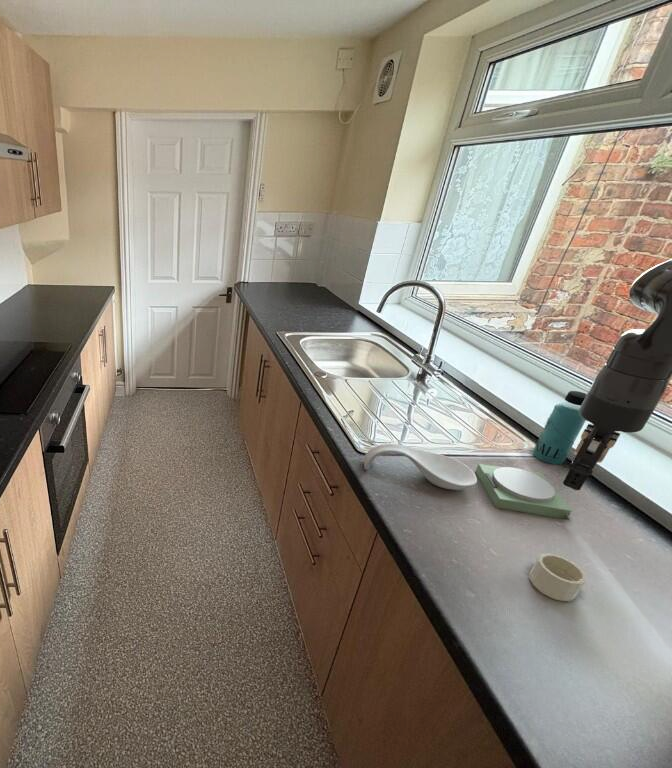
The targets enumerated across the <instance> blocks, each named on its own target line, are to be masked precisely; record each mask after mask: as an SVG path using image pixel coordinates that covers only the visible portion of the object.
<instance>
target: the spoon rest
mask: <svg viewBox="0 0 672 768" xmlns="http://www.w3.org/2000/svg"><path fill="white" fill-rule="evenodd" d="M384 454H397V455H401V456H403V457H406V458H407V459H409V460H410V461H411V462H412V463H413V464H414V465H415V467H416V468H417V469H418V471H419V472H420V473H421V475H423V477H424V478H425V479H427V481H428V482H430V483H431V484H433V485H434V486H436V487H438V488H441V489H446V490H455V491H456V490H457V491H458V490H459V491H461V490H466V489H469V488H472V487H474V486H475V485H476V484H477V482H478V478H477V474H476V473H475V472H474V471H473V470H472V469H471V468H470V467H469V466H468V465H466V464H465V463H463V462H461V461H459V460H457V459H455V458H452V457H450V456H447V455H444V454H441V453H436V452H431V451H428V450H424V449H420V448H416V447H413V446H409V445H403V444H399V443H383V444H379V445H376V446H374V447H371V448H370V449H369V450H368V451H367V452H366V453H365V455H364V457H363V468H364V470H365V471H368V470H369V469H370V468H371V465H372V463H373V461H374V460H375V459H376V458H377V457H379V456H381V455H384Z"/></svg>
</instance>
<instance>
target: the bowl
mask: <svg viewBox="0 0 672 768" xmlns="http://www.w3.org/2000/svg"><path fill="white" fill-rule="evenodd" d="M528 578H529V580H530V582H531V584H532V585H533V587H534V588H535V589H536V590H537V591H539V592H540V593H541V594H542V595H544V596H546V597H548V598H550V599H552V600H556V601H560V602H571V601H573V600H574V599H576V597H577V596H578V594H579V592H580V591H581V590H582V588H583V587H584V585H585V583H586V582H587V575H586V574H585V572H584V571H583V569H582V568H581V567H579V566H578V564H576V563H574V562H573V561H571V560H570V559H567V558H566V557H563V556H561V555H558V554H554V553H543V554H540V555H539V556H538V557H537V559H536V561H535V562H534V565H533V566H532V568H531V570H530V572H529V576H528Z"/></svg>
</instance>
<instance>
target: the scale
mask: <svg viewBox="0 0 672 768" xmlns="http://www.w3.org/2000/svg"><path fill="white" fill-rule="evenodd" d="M474 473H475V475H476V476H477V477H478V479H479V480H480V482H481V484H482V486H483V487H484V490H485V491H486V492H487V494H488V496H489V498H490V500H491V501H492V504H493V505H494V507H495V508H497V509H503V510H508V511H516V512H520V513H527V514H532V515H539V516H543V517H551V518H555V519H562V520H568V518H569V516H568V515H570V514H571V513H572V510H571V508H570V507H569V506H568V504H567V503H566V502H565V500H563V498H562V497H561V496H560V494H559V493H558V492H557V491H556V489H555V488H554V487H553V486H552V485H551V483H550V482H549V480H548V479H547V478H546V476H545V475H544V474H543V473H542V472H537V471H530V470H525V469H521V468H518V467H510V466H497V465H489V464H484V463H483V464H482V463H477V466H476V469H475V472H474Z"/></svg>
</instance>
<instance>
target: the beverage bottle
mask: <svg viewBox="0 0 672 768" xmlns="http://www.w3.org/2000/svg"><path fill="white" fill-rule="evenodd" d="M586 395H587V393H585V392H582V391H577V390H570V391H569V392H567V394H566V395H565V397H564V400H565V401H564V402H559V403H557V404H555V405H554V406H553V410H552V412H551V413H550V414H549V416H548V418H547V419H546V422H545V423H544V426H543V429H542V431H541V432H540V435H539V436H538V439H537V440H536V442H535V445H534V447H533V448H532V453H533V456H535V457H536V458H537V459H538V460H539V461H542V462H544V463H548V464H553V465H562V464H563V463H565V462H566V461H567V458H568V456H569V454H570V452H571V450H572V447H573V446H574V445H575V441H576V440H577V438H578V436H579V434H580V432H581V430H582V428H583V426H584V424H586V420H585V419H583V418H582V417H581V416H580V414H579V409H580V407H581V405H582V403H583V401H584V399H585V397H586Z"/></svg>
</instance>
